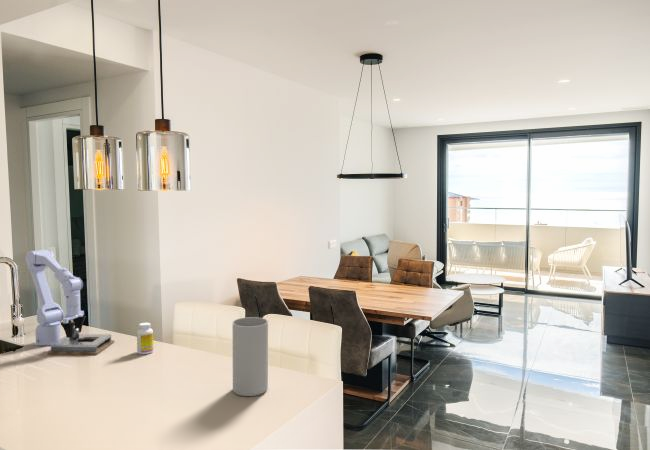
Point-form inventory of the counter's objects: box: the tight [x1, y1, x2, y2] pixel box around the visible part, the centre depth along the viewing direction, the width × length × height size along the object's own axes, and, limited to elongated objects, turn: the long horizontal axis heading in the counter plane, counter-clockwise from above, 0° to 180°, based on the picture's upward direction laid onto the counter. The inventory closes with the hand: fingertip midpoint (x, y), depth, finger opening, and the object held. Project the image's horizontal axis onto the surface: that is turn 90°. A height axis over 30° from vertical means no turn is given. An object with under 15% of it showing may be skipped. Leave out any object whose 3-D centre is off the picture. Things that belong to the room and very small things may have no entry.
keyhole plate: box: [50, 333, 112, 352], centre depth 211 cm, size 20×15×3 cm
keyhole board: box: [46, 339, 115, 356], centre depth 211 cm, size 22×17×1 cm
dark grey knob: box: [69, 326, 80, 341], centre depth 210 cm, size 6×6×8 cm
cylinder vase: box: [232, 316, 269, 397], centre depth 167 cm, size 12×12×25 cm
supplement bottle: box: [136, 322, 154, 355], centre depth 206 cm, size 7×7×13 cm
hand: (74, 334), depth 210 cm, fingers open, 7 cm apart
